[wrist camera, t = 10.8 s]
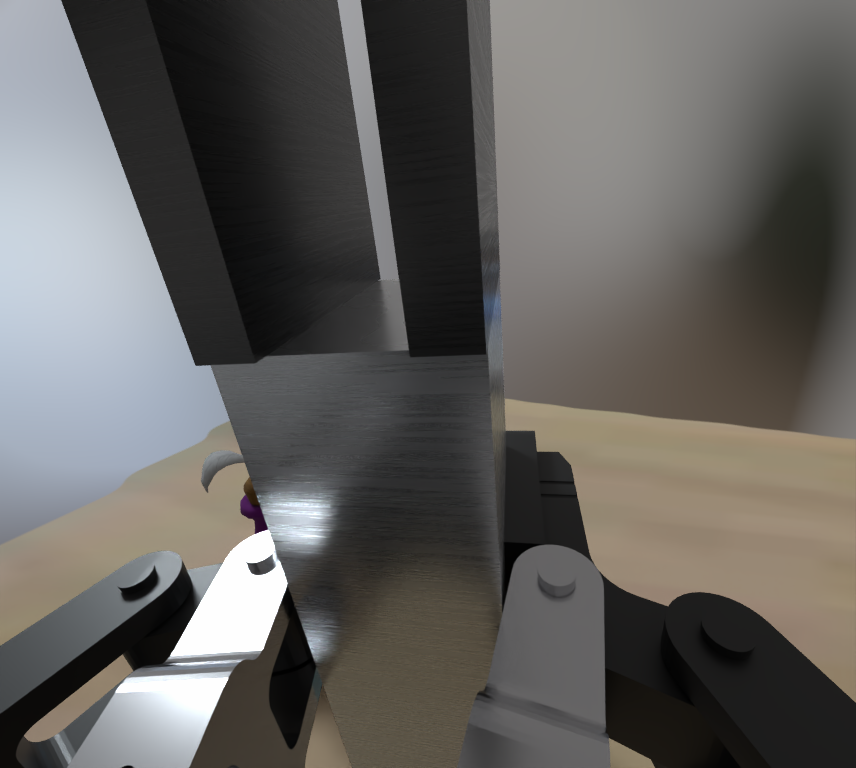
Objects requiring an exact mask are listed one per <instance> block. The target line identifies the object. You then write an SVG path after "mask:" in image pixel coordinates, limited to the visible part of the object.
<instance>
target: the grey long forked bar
mask: <svg viewBox="0 0 856 768" xmlns="http://www.w3.org/2000/svg"><path fill="white" fill-rule="evenodd" d="M61 1H62V4H63V6H64V9H65V12H66V14H67V17H68V20H69V22H70V25H71V28H72V31H73V33H74V36H75V39H76V41H77V44H78V47H79V50H80V52H81V55H82V58H83V61H84V63H85V66H86V69H87V72H88V74H89V77H90V80H91V82H92V85H93V88H94V91H95V93H96V96H97V99H98V101H99V104H100V107H101V110H102V112H103V115H104V118H105V120H106V123H107V126H108V129H109V131H110V134H111V137H112V140H113V142H114V145H115V147H116V150H117V153H118V156H119V158H120V161H121V164H122V167H123V169H124V172H125V175H126V178H127V180H128V183H129V185H130V189H131V191H132V194H133V197H134V199H135V202H136V204H137V208H138V210H139V213H140V216H141V218H142V221H143V224H144V226H145V229H146V232H147V235H148V237H149V240H150V243H151V246H152V248H153V251H154V254H155V257H156V259H157V262H158V265H159V267H160V270H161V272H162V276H163V278H164V281H165V284H166V286H167V289H168V292H169V294H170V297H171V300H172V303H173V305H174V308H175V311H176V313H177V316H178V319H179V322H180V325H181V327H182V330H183V333H184V335H185V338H186V341H187V343H188V346H189V349H190V352H191V354H192V357H193V360H194V363H195V365H196V366H202V365H211V368H212V371H213V374H214V376H215V379H216V382H217V385H218V388H219V390H220V393H221V396H222V399H223V402H224V405H225V407H226V410H227V413H228V416H229V419H230V422H231V425H232V428H233V430H234V433H235V436H236V439H237V442H238V445H239V448H240V450H241V453H242V456H243V459H244V462H245V465H246V467H247V470H248V473H249V476H250V479H251V482H252V484H253V487H254V490H255V493H256V496H257V499H258V502H259V504H260V507H261V510H262V513H263V516H264V519H265V521H266V524H267V527H268V530H269V533H270V536H271V539H272V541H273V544H274V547H275V550H276V553H277V556H278V558H279V561H280V564H281V567H282V570H283V573H284V576H285V578H286V581H287V584H288V587H289V590H290V593H291V595H292V598H293V601H294V604H295V607H296V610H297V613H298V615H299V618H300V621H301V624H302V627H303V630H304V632H305V635H306V638H307V641H308V644H309V647H310V650H311V652H312V655H313V658H314V661H315V664H316V667H317V669H318V672H319V675H320V678H321V681H322V684H323V687H324V689H325V692H326V695H327V698H328V701H329V704H330V706H331V709H332V712H333V715H334V718H335V721H336V724H337V726H338V729H339V732H340V735H341V738H342V741H343V743H344V746H345V749H346V752H347V755H348V758H349V761H350V763H351V766H352V768H457V766H458V762H459V757H460V753H461V749H462V745H463V741H464V737H465V733H466V729H467V724H468V720H469V717H470V713H471V709H472V706H473V703H474V700H475V698H476V696H477V694H478V692H479V691H480V690H481V691H483V690H484V689H485V686H486V683H487V680H488V676H489V672H490V667H491V663H492V658H493V654H494V649H495V645H496V640H497V636H498V631H499V627H500V622H501V618H502V613H503V609H504V604H505V600H506V573H505V552H504V522H505V479H506V425H505V399H504V373H503V348H502V323H501V322H502V321H501V298H500V297H501V295H500V271H499V270H500V260H499V235H498V207H497V181H496V158H495V157H496V156H495V129H494V103H493V77H492V52H491V26H490V0H361V5H362V12H363V19H364V27H365V34H366V42H367V49H368V56H369V63H370V70H371V78H372V85H373V93H374V99H375V107H376V114H377V122H378V129H379V136H380V144H381V151H382V158H383V165H384V173H385V180H386V187H387V195H388V202H389V209H390V216H391V224H392V231H393V238H394V246H395V253H396V260H397V267H398V275H399V279H394V280H383V281H378V280H379V279H380V272H379V266H378V259H377V253H376V246H375V240H374V234H373V227H372V221H371V215H370V208H369V202H368V195H367V188H366V182H365V176H364V169H363V164H362V157H361V150H360V143H359V137H358V130H357V125H356V118H355V111H354V105H353V100H352V99H353V98H352V92H351V86H350V79H349V73H348V66H347V60H346V53H345V47H344V41H343V34H342V27H341V21H340V15H339V8H338V2H337V0H61Z"/></svg>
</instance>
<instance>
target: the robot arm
mask: <svg viewBox="0 0 856 768" xmlns="http://www.w3.org/2000/svg"><path fill="white" fill-rule="evenodd" d="M504 552H505V573H506V600H505V604H504V609H503V613H502V618H501V622H500V627H499V631H498V636H497V640H496V645H495V649H494V654H493V658H492V663H491V667H490V672H489V676H488V680H487V683H486V686H485V689H484V690H483V691H481V690H480V691H479V692H478V694H477V696H476V698H475V700H474V703H473V706H472V709H471V713H470V717H469V720H468V724H467V729H466V733H465V737H464V741H463V745H462V749H461V753H460V757H459V762H458V766H457V768H610V749H609V738H610V739H612V740H614V741H616V742H618V743H620V744H622V745H624V746H626V747H628V748H630V749H632V750H634V751H636V752H638V753H640V754H642V755H643V756H645V757H647V758H649V759H651V761H652V762H653V764H654V766H655V768H856V703H855V702H854V701H853V700H852V699H851V698H850V697H849V696H848V695H847V694H846V693H844V692H843V691H842V690H841V689H840V688H839V687H838V686H837V685H836V684H835V683H834V682H833V681H831V680H830V679H829V678H828V677H827V676H826V675H825V674H824V673H823V672H822V671H821V670H820V669H818V668H817V667H816V666H815V665H814V664H813V663H812V662H811V661H810V660H809V659H808V658H807V657H805V656H804V655H803V654H802V653H801V652H800V651H799V650H798V649H797V648H796V647H795V646H794V645H792V644H791V643H790V642H789V641H788V640H787V639H786V638H785V637H784V636H783V635H782V634H781V633H779V632H778V631H777V630H776V629H775V628H774V627H773V626H772V625H771V624H770V623H769V622H767V621H766V620H765V619H764V618H763V617H761V616H760V615H759V614H757V613H756V612H754V611H753V610H751V609H750V608H748V607H746V606H744V605H743V604H741V603H739V602H736V601H734V600H732V599H730V598H726V597H723V596H720V595H716V594H711V593H703V592H696V593H688V594H684V595H682V596H679V597H677V598H676V599H675V600H673V601H672V602H671V604H670V605H669V606H665V605H662V604H659V603H656V602H653V601H650V600H647V599H644V598H641V597H639V596H636V595H633V594H631V593H628V592H626V591H625V590H623V589H621V588H619V587H617V586H616V585H614V584H613V583H611V582H610V581H609V580H608V579H607V578H605V577H604V576H603V575H602V574H601V572H600V571H599V570H598V569H597V568H596V566H595V565H594V563H593V561H592V559H591V556H590V553H589V549H588V544H587V540H586V535H585V530H584V525H583V521H582V516H581V511H580V506H579V502H578V499H577V492H576V487H575V485H574V478H573V473H572V468H571V465H570V464H569V463H568V462H567V461H566V460H565V459H564V457H563V456H562V455H561V454H560V453H559V452H537V450H536V439H535V431H506V479H505V522H504ZM122 654H123V655H124V657H125V659H126V660H127V662H128V663H129V665H130V666H131V668H132V669H133V672H132V673H131V674H129V675H128V676H127V677H126V678H125V679H123V680H122V681H121V682H120V683H119V684H118V685H116V686H115V687H114V688H113V689H112V690H110V691H109V692H108V693H107V694H106V695H104V696H103V697H102V698H101V699H100V700H98V701H97V702H96V703H95V704H94V705H92V706H91V707H90V708H89V709H88V710H86V711H85V712H84V713H83V714H82V715H80V716H79V717H78V718H77V719H76V720H74V721H73V722H72V723H71V724H70V725H68V726H67V727H66V728H65V729H64V730H62V731H61V732H60V733H58V734H57V735H55V736H54V737H52V738H50V739H47V740H45V741H41V742H30V741H28V740H27V739H26V738H25V737H24V735H25V733H26V732H27V731H28V730H29V729H30V728H31V727H32V726H33V725H34V724H35V723H36V722H37V721H39V720H40V719H41V718H42V717H44V716H45V715H46V714H47V713H49V712H50V711H51V710H53V709H54V708H55V707H56V706H58V705H59V704H60V703H61V702H63V701H64V700H65V699H66V698H68V697H69V696H70V695H71V694H73V693H74V692H75V691H77V690H78V689H79V688H80V687H82V686H83V685H84V684H85V683H87V682H88V681H89V680H90V679H92V678H93V677H94V676H95V675H97V674H98V673H99V672H101V671H102V670H103V669H104V668H106V667H107V666H108V665H109V664H111V663H112V662H113V661H114V660H116V659H117V658H118V657H119V656H121V655H122ZM321 687H322V681H321V678H320V675H319V672H318V669H317V667H316V664H315V661H314V658H313V655H312V652H311V650H310V647H309V644H308V641H307V638H306V635H305V632H304V630H303V627H302V624H301V621H300V618H299V615H298V613H297V610H296V607H295V604H294V601H293V598H292V595H291V593H290V590H289V587H288V584H287V581H286V578H285V576H284V573H283V570H282V567H281V564H280V561H279V558H278V556H277V553H276V550H275V547H274V544H273V541H272V539H271V536H270V533H269V530H268V531H264V532H261V533H258V534H256V535H254V536H252V537H250V538H248V539H246V540H245V541H243V542H242V543H241V544H239V545H238V546H237V547H236V548H235V549H234V550H233V551H232V552H231V553H230V554H229V556H228V557H227V559H226V560H225V562H224V563H220V564H215V565H211V566H206V567H201V568H196V569H191V570H187V569H186V567H185V565H184V563H183V561H182V559H181V557H180V556H179V555H178V554H177V553H175V552H172V551H158V552H153V553H149V554H146V555H144V556H141V557H139V558H137V559H135V560H133V561H131V562H129V563H127V564H126V565H124V566H122V567H121V568H119V569H118V570H116V571H115V572H113V573H112V574H110V575H109V576H107V577H105V578H104V579H102V580H101V581H99V582H98V583H96V584H95V585H93V586H92V587H90V588H89V589H87V590H86V591H84V592H82V593H81V594H79V595H78V596H76V597H75V598H73V599H72V600H70V601H69V602H67V603H66V604H64V605H62V606H61V607H59V608H58V609H56V610H55V611H53V612H52V613H50V614H49V615H47V616H46V617H44V618H43V619H41V620H39V621H38V622H36V623H35V624H33V625H32V626H30V627H29V628H27V629H26V630H24V631H23V632H21V633H19V634H18V635H16V636H15V637H13V638H12V639H10V640H9V641H7V642H6V643H4V644H3V645H1V646H0V768H305V760H306V753H307V748H308V744H309V740H310V735H311V731H312V727H313V722H314V718H315V713H316V709H317V705H318V700H319V696H320V691H321Z"/></svg>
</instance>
